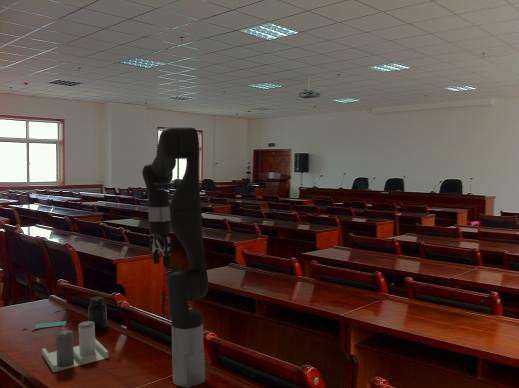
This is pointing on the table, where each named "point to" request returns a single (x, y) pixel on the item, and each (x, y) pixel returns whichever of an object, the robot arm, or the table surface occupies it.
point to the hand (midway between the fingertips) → (161, 265)
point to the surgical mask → (51, 324)
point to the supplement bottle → (98, 313)
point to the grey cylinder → (64, 348)
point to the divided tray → (76, 357)
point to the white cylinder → (87, 338)
